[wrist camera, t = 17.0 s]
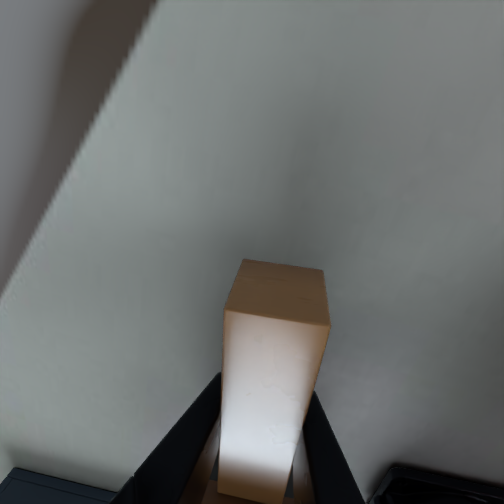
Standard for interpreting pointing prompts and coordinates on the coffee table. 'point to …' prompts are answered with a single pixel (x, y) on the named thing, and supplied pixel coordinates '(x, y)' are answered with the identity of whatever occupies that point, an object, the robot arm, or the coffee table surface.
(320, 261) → the coffee table surface
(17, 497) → the tray
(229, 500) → the brush
